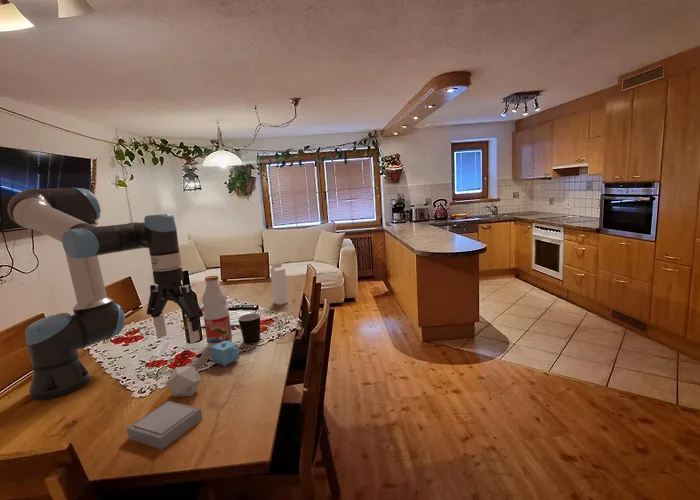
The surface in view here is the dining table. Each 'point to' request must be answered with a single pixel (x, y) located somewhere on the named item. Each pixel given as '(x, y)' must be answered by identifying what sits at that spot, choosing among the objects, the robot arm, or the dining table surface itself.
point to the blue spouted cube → (225, 353)
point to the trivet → (164, 424)
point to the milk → (279, 284)
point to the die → (183, 381)
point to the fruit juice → (216, 313)
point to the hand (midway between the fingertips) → (178, 339)
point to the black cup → (250, 328)
